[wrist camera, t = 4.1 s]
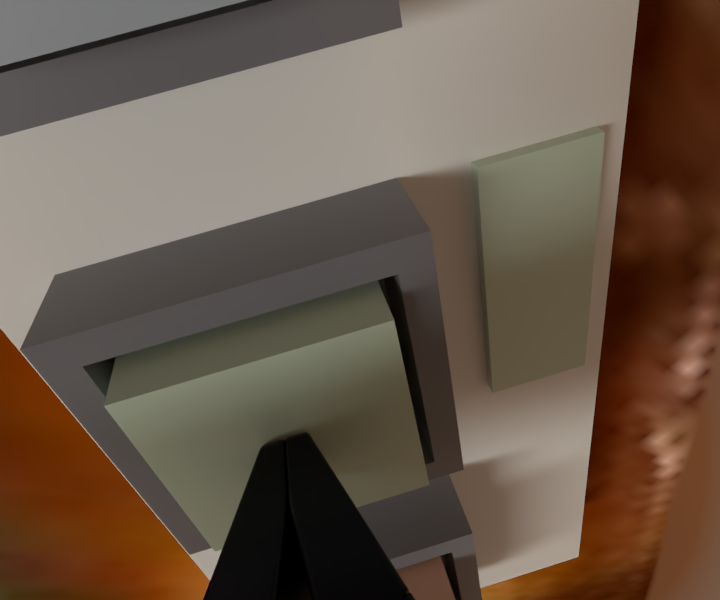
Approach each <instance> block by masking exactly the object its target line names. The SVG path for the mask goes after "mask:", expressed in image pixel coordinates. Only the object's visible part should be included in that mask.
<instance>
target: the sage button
mask: <svg viewBox="0 0 720 600" xmlns="http://www.w3.org/2000/svg"><path fill="white" fill-rule="evenodd" d="M104 407H105V408H106V410H107V411H108V412H109V414H110V415H111V416H112V417H113V419H114V420H115V421H116V423H117V424H118V425H119V427H120V428H121V429H122V431H123V432H124V433H125V435H126V436H127V437H128V438H129V440H130V441H131V442H132V444H133V445H134V446H135V448H136V449H137V450H138V452H139V453H140V454H141V456H142V457H143V458H144V459H145V461H146V462H147V463H148V465H149V466H150V467H151V469H152V470H153V471H154V473H155V474H156V475H157V477H158V478H159V479H160V480H161V482H162V483H163V484H164V486H165V487H166V488H167V490H168V491H169V492H170V494H171V495H172V496H173V498H174V499H175V500H176V501H177V503H178V504H179V505H180V507H181V508H182V509H183V511H184V512H185V513H186V515H187V516H188V517H189V518H190V520H191V521H192V522H193V524H194V525H195V526H196V528H197V529H198V530H199V532H200V533H201V534H202V536H203V537H204V538H205V539H206V541H207V542H208V543H209V545H210V546H211V547H212V549H213V550H214V551H219V550H222V548H223V546H224V543H225V540H226V538H227V535H228V532H229V530H230V527H231V524H232V522H233V519H234V516H235V514H236V511H237V508H238V506H239V503H240V500H241V498H242V495H243V492H244V490H245V487H246V484H247V482H248V479H249V476H250V474H251V471H252V468H253V466H254V463H255V460H256V458H257V455H258V452H259V450H260V448H261V447H262V446H263V445H264V444H267V443H271V442H274V441H277V440H285V441H286V439H287V438H288V437H290V436H294V435H297V434H300V433H304V432H307V433H309V434H310V436H311V437H312V439H313V440H314V442H315V443H316V445H317V446H318V448H319V450H320V451H321V453H322V454H323V456H324V457H325V459H326V461H327V462H328V464H329V465H330V467H331V468H332V470H333V471H334V473H335V475H336V476H337V478H338V479H339V481H340V482H341V484H342V486H343V487H344V489H345V490H346V492H347V493H348V495H349V497H350V498H351V500H352V501H353V503H354V504H355V506H356V508H357V507H360V506H363V505H367V504H370V503H373V502H376V501H379V500H383V499H386V498H389V497H392V496H396V495H399V494H402V493H405V492H408V491H412V490H415V489H418V488H421V487H425V486H428V485H429V480H428V475H427V471H426V466H425V461H424V457H423V452H422V447H421V443H420V438H419V433H418V429H417V424H416V419H415V415H414V410H413V405H412V401H411V396H410V391H409V387H408V382H407V377H406V373H405V368H404V363H403V358H402V354H401V349H400V344H399V340H398V335H397V330H396V326H395V321H394V318H393V316H392V313H391V311H390V309H389V306H388V304H387V302H386V299H385V297H384V294H383V292H382V290H381V287H380V285H379V283H378V280H377V281H373V282H370V283H366V284H363V285H360V286H356V287H353V288H349V289H346V290H342V291H339V292H336V293H332V294H329V295H325V296H322V297H319V298H315V299H312V300H308V301H305V302H301V303H298V304H295V305H291V306H288V307H284V308H281V309H277V310H274V311H271V312H267V313H264V314H260V315H257V316H254V317H250V318H247V319H243V320H240V321H236V322H233V323H230V324H226V325H223V326H219V327H216V328H213V329H209V330H206V331H202V332H199V333H195V334H192V335H189V336H185V337H182V338H178V339H175V340H172V341H168V342H165V343H161V344H158V345H154V346H151V347H148V348H144V349H141V350H137V351H134V352H130V353H127V354H124V355H120V356H117V357H116V358H115V362H114V366H113V370H112V374H111V379H110V383H109V387H108V391H107V395H106V399H105V403H104Z"/></svg>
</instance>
